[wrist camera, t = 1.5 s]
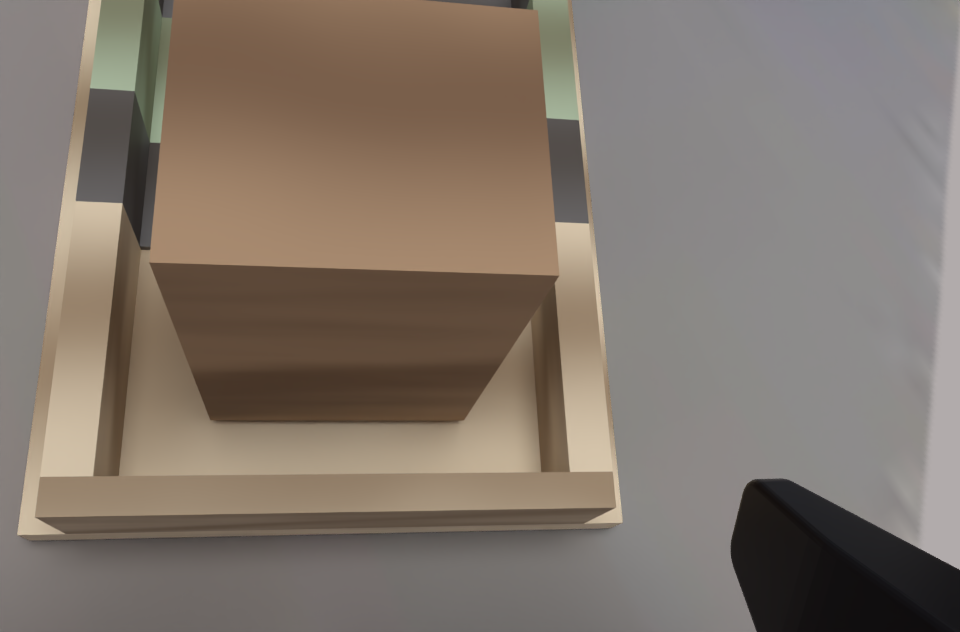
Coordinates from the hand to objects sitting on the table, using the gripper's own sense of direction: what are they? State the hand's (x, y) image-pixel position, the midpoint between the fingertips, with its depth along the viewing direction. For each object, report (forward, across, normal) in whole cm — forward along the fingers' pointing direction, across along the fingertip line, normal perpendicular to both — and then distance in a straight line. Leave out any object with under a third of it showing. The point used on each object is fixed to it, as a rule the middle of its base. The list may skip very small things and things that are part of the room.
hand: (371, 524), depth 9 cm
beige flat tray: (+18, 0, +1) cm, 18 cm away
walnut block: (+13, 0, +4) cm, 14 cm away
